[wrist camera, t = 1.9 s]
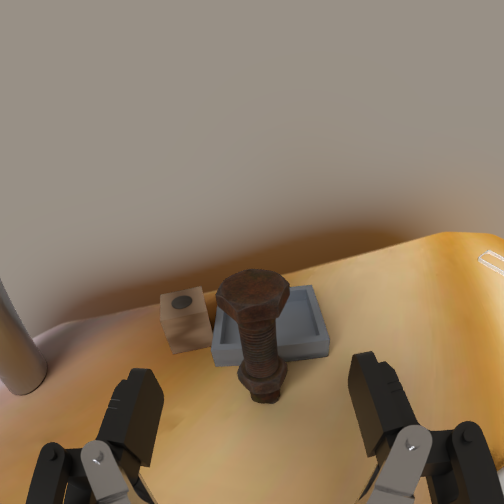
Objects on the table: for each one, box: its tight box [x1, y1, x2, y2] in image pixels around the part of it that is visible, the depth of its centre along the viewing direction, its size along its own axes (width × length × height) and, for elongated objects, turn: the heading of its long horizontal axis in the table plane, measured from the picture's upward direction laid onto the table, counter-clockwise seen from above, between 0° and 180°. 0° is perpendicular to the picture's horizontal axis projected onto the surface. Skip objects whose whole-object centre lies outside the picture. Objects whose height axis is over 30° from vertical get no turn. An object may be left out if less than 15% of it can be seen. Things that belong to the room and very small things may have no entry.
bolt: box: [216, 269, 290, 404], centre depth 25 cm, size 6×5×15 cm
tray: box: [211, 285, 330, 366], centre depth 37 cm, size 14×12×3 cm
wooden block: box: [160, 286, 213, 354], centre depth 37 cm, size 6×6×6 cm
